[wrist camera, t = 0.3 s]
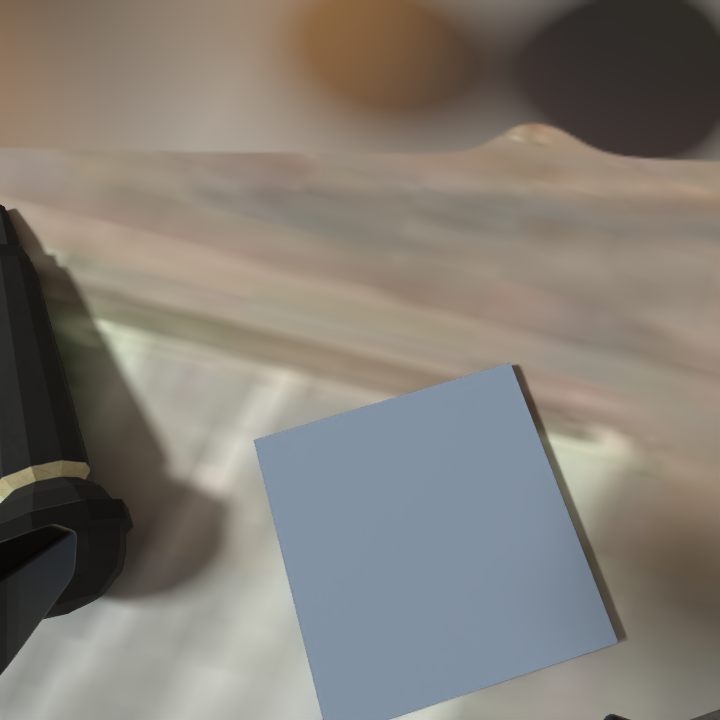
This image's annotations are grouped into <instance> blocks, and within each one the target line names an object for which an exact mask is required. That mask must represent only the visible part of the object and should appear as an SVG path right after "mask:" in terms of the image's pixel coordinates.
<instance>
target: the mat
mask: <svg viewBox="0 0 720 720" xmlns="http://www.w3.org/2000/svg"><path fill="white" fill-rule="evenodd" d="M254 443H255V447H256V451H257V455H258V459H259V463H260V467H261V471H262V475H263V479H264V484H265V488H266V492H267V496H268V500H269V504H270V508H271V512H272V516H273V520H274V524H275V528H276V532H277V536H278V540H279V544H280V548H281V552H282V556H283V560H284V564H285V568H286V572H287V576H288V580H289V584H290V588H291V592H292V596H293V600H294V604H295V608H296V613H297V617H298V621H299V625H300V629H301V633H302V637H303V641H304V645H305V649H306V653H307V657H308V661H309V665H310V669H311V673H312V677H313V681H314V685H315V689H316V693H317V697H318V701H319V705H320V709H321V713H322V717H323V720H389V719H392V718H395V717H398V716H401V715H404V714H407V713H410V712H413V711H416V710H419V709H422V708H425V707H428V706H431V705H434V704H437V703H440V702H443V701H446V700H449V699H452V698H455V697H458V696H461V695H464V694H467V693H470V692H473V691H476V690H479V689H482V688H485V687H488V686H491V685H494V684H497V683H500V682H503V681H506V680H509V679H512V678H515V677H518V676H521V675H524V674H527V673H529V672H532V671H535V670H538V669H541V668H544V667H547V666H550V665H553V664H556V663H559V662H562V661H565V660H568V659H571V658H574V657H577V656H580V655H583V654H586V653H589V652H592V651H595V650H598V649H601V648H604V647H607V646H610V645H613V644H616V643H618V640H617V638H616V635H615V633H614V630H613V627H612V625H611V622H610V620H609V617H608V614H607V612H606V609H605V607H604V604H603V601H602V599H601V596H600V594H599V591H598V588H597V586H596V583H595V581H594V578H593V576H592V573H591V570H590V568H589V565H588V563H587V560H586V557H585V555H584V552H583V550H582V547H581V544H580V542H579V539H578V537H577V534H576V531H575V529H574V526H573V524H572V521H571V519H570V516H569V513H568V511H567V508H566V506H565V503H564V500H563V498H562V495H561V493H560V490H559V487H558V485H557V482H556V480H555V477H554V474H553V472H552V469H551V467H550V464H549V462H548V459H547V456H546V454H545V451H544V449H543V446H542V443H541V441H540V438H539V436H538V433H537V430H536V428H535V425H534V423H533V420H532V417H531V415H530V412H529V410H528V407H527V405H526V402H525V399H524V397H523V394H522V392H521V389H520V386H519V384H518V381H517V379H516V376H515V373H514V371H513V368H512V366H511V363H508V364H505V365H501V366H498V367H495V368H491V369H488V370H485V371H481V372H478V373H475V374H471V375H468V376H465V377H461V378H458V379H455V380H452V381H448V382H445V383H442V384H438V385H435V386H432V387H428V388H425V389H422V390H418V391H415V392H412V393H408V394H405V395H402V396H398V397H395V398H392V399H388V400H385V401H382V402H379V403H375V404H372V405H369V406H365V407H362V408H359V409H355V410H352V411H349V412H345V413H342V414H339V415H335V416H332V417H329V418H325V419H322V420H319V421H315V422H312V423H309V424H305V425H302V426H299V427H296V428H292V429H289V430H286V431H282V432H279V433H276V434H272V435H269V436H266V437H262V438H259V439H256V440H254Z"/></svg>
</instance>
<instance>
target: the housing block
mask: <svg viewBox="0 0 720 720" xmlns="http://www.w3.org/2000/svg"><path fill="white" fill-rule="evenodd" d="M692 720H720V710H718V711H715V712H712V713H709V714H706V715H704V716H701V717H698V718H695V719H692Z"/></svg>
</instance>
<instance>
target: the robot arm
mask: <svg viewBox="0 0 720 720" xmlns="http://www.w3.org/2000/svg"><path fill="white" fill-rule="evenodd" d="M76 543H77V535H76V533H75V531H73V530H71V529H68V528H65V527H62V526H59V525H56V524H50V525H47V526H44V527H41V528H38V529H35V530H32V531H30V532H27V533H24V534H21V535H18V536H16V537H13V538H10V539H7V540H4V541H2V542H0V675H1V674H2V673H3V671H4V670H5V669H6V668H7V667H8V665H9V664H10V663H11V661H12V660H13V659H14V657H15V656H16V655H17V653H18V652H19V651H20V649H21V648H22V647H23V645H24V644H25V642H26V641H27V640H28V638H29V637H30V636H31V634H32V633H33V631H34V630H35V629H36V627H37V626H38V625H39V623H40V622H41V620H42V619H43V618H44V616H45V615H46V614H47V612H48V611H49V609H50V608H51V607H52V605H53V604H54V603H55V601H56V600H57V598H58V597H59V596H60V594H61V593H62V592H63V590H64V589H65V587H66V586H67V585H68V583H69V582H70V580H71V578H72V576H73V573H74V569H75V558H76ZM604 720H629V719H626V718H623V717H621V716H618V715H615V714H609V715H607V716H606V717H605V719H604Z"/></svg>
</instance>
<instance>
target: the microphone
mask: <svg viewBox="0 0 720 720" xmlns="http://www.w3.org/2000/svg"><path fill="white" fill-rule="evenodd" d="M90 471H91V469H90V465H89V461H88V458H87V454H86V450H85V447H84V443H83V440H82V436H81V432H80V429H79V425H78V421H77V418H76V414H75V411H74V407H73V403H72V400H71V396H70V392H69V389H68V385H67V382H66V378H65V374H64V371H63V367H62V363H61V360H60V356H59V353H58V349H57V345H56V342H55V338H54V334H53V331H52V327H51V324H50V320H49V316H48V313H47V309H46V305H45V302H44V298H43V295H42V291H41V287H40V284H39V280H38V276H37V273H36V270H35V268H34V266H33V264H32V262H30V258H29V257H28V255H27V254H26V253H25V251H24V250H23V248H22V247H21V246H19V243H18V239H17V236H16V233H15V231H14V228H13V226H12V224H11V221H10V219H9V216H8V214H7V211H6V209H5V207H4V206H2V205H0V495H1V496H2V497H4V498H5V499H4V500H3V501H2V502H1V503H0V542H2V541H4V540H7V539H10V538H13V537H16V536H18V535H21V534H24V533H27V532H30V531H32V530H35V529H38V528H41V527H44V526H47V525H50V524H56V525H59V526H62V527H65V528H68V529H71V530H73V531H75V533H76V535H77V543H76V558H75V569H74V573H73V576H72V578H71V580H70V582H69V583H68V585H67V586H66V587H65V589H64V590H63V592H62V593H61V594H60V596H59V597H58V598H57V600H56V601H55V603H54V604H53V605H52V607H51V608H50V609H49V611H48V612H47V614H46V615H45V616H44V618H43V619H46V618H51V617H55V616H60V615H65V614H68V613H70V612H72V611H74V610H76V609H78V608H81V607H83V606H85V605H87V604H89V603H91V602H93V601H95V600H96V599H98V598H99V597H101V596H102V595H103V594H104V593H105V592H106V590H107V589H108V588H109V587H110V585H111V584H112V583H113V582H114V580H115V579H116V578H117V577H118V575H119V574H120V573H121V572H122V569H123V564H124V558H125V553H126V532H128V531H129V530H130V529H131V528H133V524H132V521H131V517H130V514H129V510H128V508H127V507H126V505H125V503H124V502H123V500H122V499H112V498H111V497H110V496H109V495H108V494H107V493H106V491H105V490H104V489H103V488H102V487H101V486H100V485H98V484H95V483H92V482H90V481H87V480H85V479H86V477H87V476H88V474H89V472H90Z"/></svg>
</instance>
